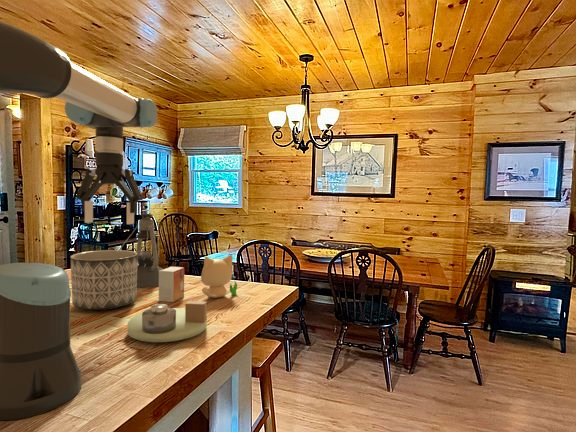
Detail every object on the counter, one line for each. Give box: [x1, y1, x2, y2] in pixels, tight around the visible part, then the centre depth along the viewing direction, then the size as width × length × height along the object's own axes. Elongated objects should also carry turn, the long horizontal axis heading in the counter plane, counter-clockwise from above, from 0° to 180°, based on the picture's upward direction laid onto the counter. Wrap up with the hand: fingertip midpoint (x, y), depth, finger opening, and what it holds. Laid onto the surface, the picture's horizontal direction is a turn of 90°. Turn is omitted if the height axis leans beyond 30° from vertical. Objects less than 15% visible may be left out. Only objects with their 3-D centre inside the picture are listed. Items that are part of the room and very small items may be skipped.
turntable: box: [127, 300, 208, 343], centre depth 98 cm, size 20×20×7 cm
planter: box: [69, 249, 138, 311], centre depth 119 cm, size 19×19×16 cm
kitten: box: [200, 254, 238, 299], centre depth 132 cm, size 15×10×15 cm
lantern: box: [119, 211, 164, 289], centre depth 147 cm, size 18×20×30 cm
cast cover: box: [141, 303, 176, 334], centre depth 92 cm, size 8×8×6 cm
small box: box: [158, 266, 185, 303], centre depth 128 cm, size 8×6×10 cm
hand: (109, 223), depth 112 cm, fingers open, 13 cm apart
